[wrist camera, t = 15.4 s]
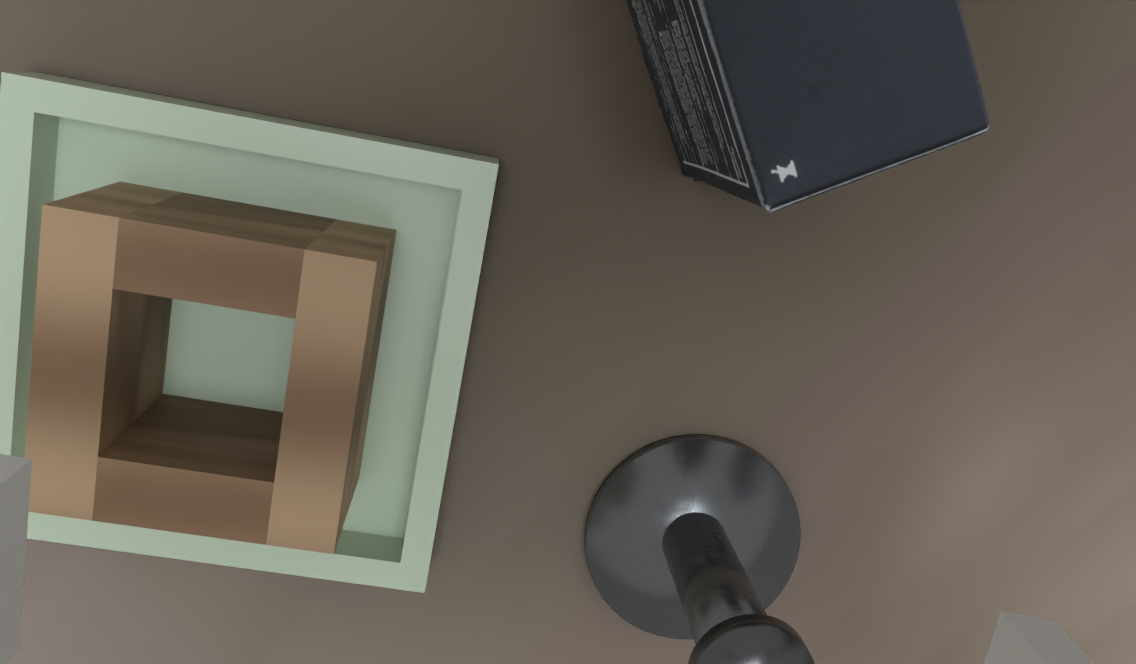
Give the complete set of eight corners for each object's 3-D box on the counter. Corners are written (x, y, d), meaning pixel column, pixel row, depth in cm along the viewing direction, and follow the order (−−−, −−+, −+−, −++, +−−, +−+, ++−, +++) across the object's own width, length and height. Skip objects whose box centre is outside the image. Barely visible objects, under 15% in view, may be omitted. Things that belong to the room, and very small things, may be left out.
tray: (37, 72, 33) (1, 72, 31) (498, 158, 35) (498, 164, 32) (7, 500, 37) (-27, 531, 34) (429, 559, 38) (424, 593, 36)
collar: (120, 181, 34) (42, 204, 28) (396, 229, 35) (376, 262, 29) (97, 439, 36) (20, 510, 30) (359, 477, 37) (333, 554, 31)
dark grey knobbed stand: (608, 418, 37) (646, 537, 28) (818, 452, 38) (925, 578, 29) (566, 616, 39) (590, 789, 30) (768, 643, 40) (853, 820, 31)
